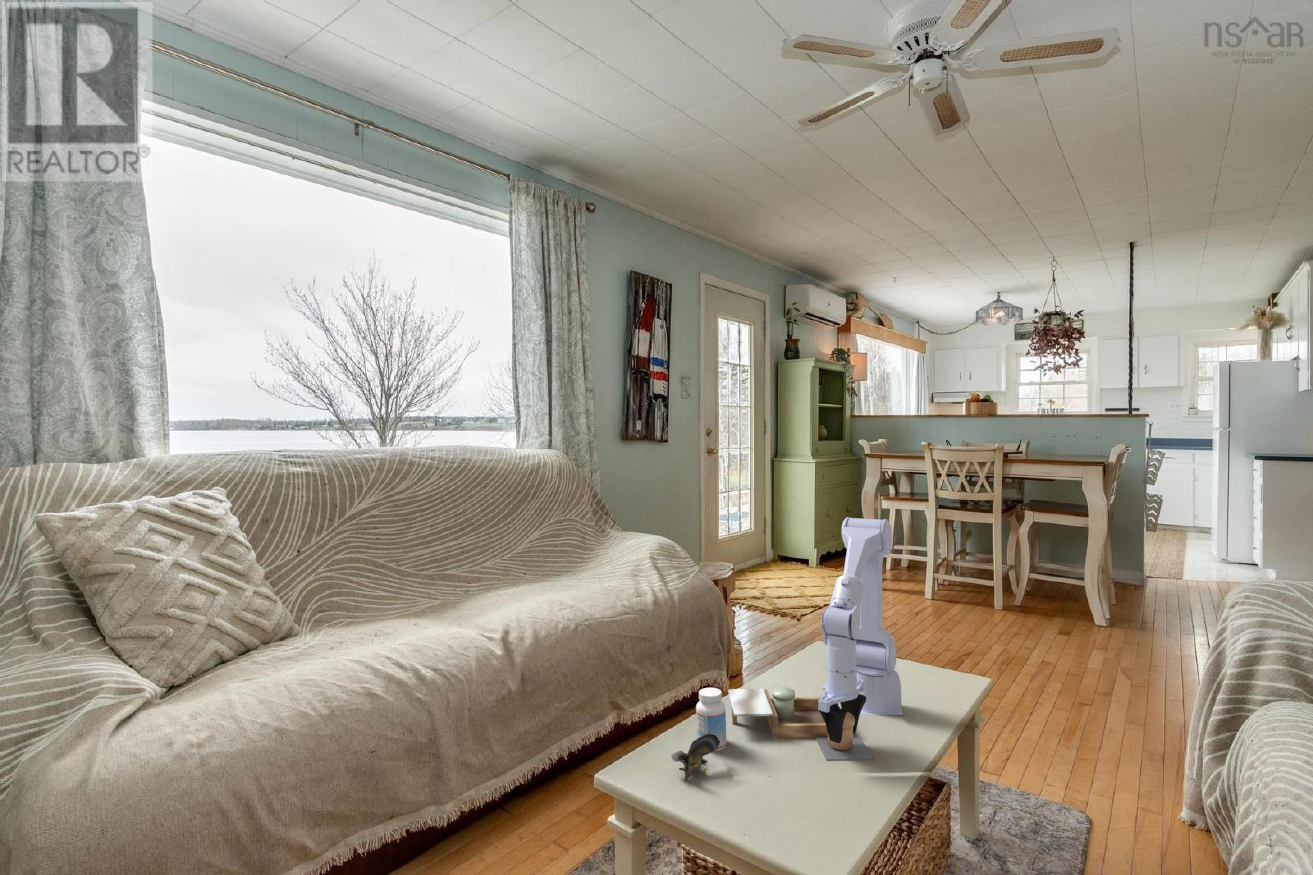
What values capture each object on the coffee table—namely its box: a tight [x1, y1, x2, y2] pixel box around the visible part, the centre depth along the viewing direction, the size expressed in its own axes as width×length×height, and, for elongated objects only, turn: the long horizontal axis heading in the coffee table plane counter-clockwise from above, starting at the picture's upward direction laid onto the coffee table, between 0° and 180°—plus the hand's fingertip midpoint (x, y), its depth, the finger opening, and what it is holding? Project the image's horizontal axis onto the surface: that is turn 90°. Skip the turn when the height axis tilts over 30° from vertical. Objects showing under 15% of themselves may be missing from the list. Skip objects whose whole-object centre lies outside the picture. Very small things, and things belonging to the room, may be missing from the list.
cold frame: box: [727, 688, 840, 739], centre depth 140 cm, size 24×14×5 cm, turn 89°
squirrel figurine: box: [671, 734, 720, 782], centre depth 122 cm, size 8×7×9 cm
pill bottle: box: [695, 687, 727, 752], centre depth 132 cm, size 6×6×11 cm
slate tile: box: [814, 735, 874, 762], centre depth 128 cm, size 9×9×1 cm
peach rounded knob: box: [828, 712, 855, 750], centre depth 129 cm, size 5×5×6 cm
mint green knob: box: [771, 686, 796, 720], centre depth 143 cm, size 5×5×6 cm
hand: (842, 736), depth 128 cm, fingers closed on peach rounded knob, 5 cm apart
